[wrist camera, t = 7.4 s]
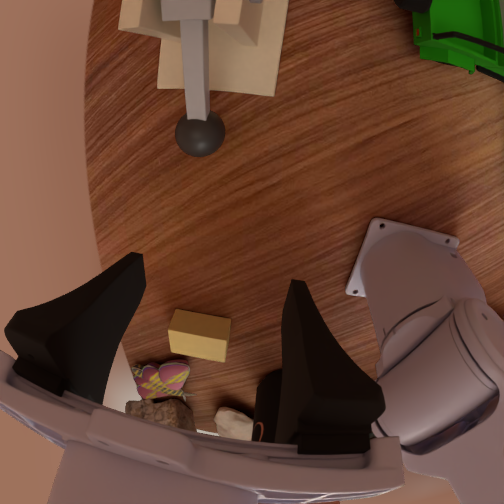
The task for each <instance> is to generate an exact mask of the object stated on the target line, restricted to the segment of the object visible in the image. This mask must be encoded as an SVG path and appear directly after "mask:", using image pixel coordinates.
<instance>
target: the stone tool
mask: <svg viewBox="0 0 504 504" xmlns="http://www.w3.org/2000/svg"><path fill="white" fill-rule="evenodd" d="M253 421H254V420H253V419H251V418H249V417H248V416H246V415H245V414H244V413H242V412H239V411H236V410H235V409H231V408H228V407H220V408H219V409H218V412H217V413H216V415H215V417H214V422H215V423H216V426H217V431H218V435H219V436H220V437H226V438H232V439H239V440H247V441H251V438H252V430H253Z"/></svg>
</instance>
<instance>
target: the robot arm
mask: <svg viewBox="0 0 504 504" xmlns="http://www.w3.org/2000/svg"><path fill="white" fill-rule="evenodd" d="M382 223H384V225H383V226H382V227H380V224H382ZM447 239H448V240H447ZM446 240H447V241H446ZM458 244H459V239H458V238H457V237H456V236H452V235H448V234H444V233H440V232H437V231H433V230H429V229H425V228H421V227H416V226H412V225H408V224H404V223H399V222H395V221H391V220H386V219H382V218H373V219H372V220H371V222H370V225H369V228H368V230H367V233H366V236H365V239H364V241H363V244H362V247H361V249H360V252H359V255H358V257H357V260H356V263H355V265H354V268H353V270H352V273H351V275H350V278H349V280H348V282H347V285H346V287H345V292H346V294H348V295H353V296H361V297H366V298H367V302H368V305H369V309H370V313H371V316H372V320H373V324H374V328H375V332H376V336H377V340H378V345H379V349H380V353H381V357H380V359H379V361H378V362H377V363H376V364H375V366H376V371H377V377H378V378H377V379H376V380H375V381H374V380H373V379H371V378H370V377H369V376H368V375H367V374H366V373H365V372H364V371H362V370H361V369H360V368H359V367H358V366H357V365H356V364H355V363H354V361H353V360H352V359H351V358H350V357H349V356H348V355H347V354H346V352H345V351H344V350H343V349H342V347H341V346H340V345H339V343H338V342H337V341H336V339H335V338H334V336H333V335H332V333H331V332H330V330H329V329H328V327H327V325H326V324H325V322H324V320H323V318H322V317H321V315H320V313H319V311H318V309H317V307H316V305H315V303H314V301H313V299H312V296H311V294H310V292H309V290H308V287H307V285H306V283H305V281H300V280H294V279H292V280H291V283H290V287H289V290H288V294H287V297H286V301H285V304H284V308H283V314H282V326H281V337H282V386H281V396H280V406H279V414H278V422H277V429H276V436H275V442H274V443H265V442H255V441H247V440H239V439H232V438H226V437H220V436H214V435H208V434H203V433H198V432H193V431H189V430H184V429H180V428H176V427H171V426H167V425H164V424H160V423H156V422H152V421H149V420H145V419H142V418H139V417H135V416H132V415H129V414H126V413H123V412H120V411H117V410H114V409H111V408H108V407H106V406H103V405H102V404H103V399H104V394H105V389H106V385H107V381H108V377H109V373H110V370H111V367H112V363H113V360H114V357H115V354H116V351H117V349H118V345H119V343H120V341H121V339H122V336H123V334H124V332H125V331H126V329H127V327H128V325H129V323H130V321H131V319H132V317H133V315H134V313H135V311H136V309H137V308H138V306H139V304H140V301H141V299H142V296H143V294H144V291H145V288H146V279H145V271H144V262H143V254H140V253H135V252H131V253H129V254H128V255H126V256H125V257H123V258H122V259H120V260H119V261H118V262H116V263H115V264H114V265H112V266H111V267H109V268H108V269H106V270H105V271H104V272H102V273H101V274H99V275H98V276H96V277H95V278H93V279H92V280H90V281H89V282H87V283H85V284H84V285H82V286H80V287H78V288H77V289H75V290H73V291H71V292H69V293H67V294H65V295H63V296H60V297H58V298H56V299H54V300H52V301H49V302H46V303H43V304H41V305H38V306H35V307H31V308H27V309H23V310H20V311H17V312H16V313H15V314H14V316H13V317H12V319H11V320H10V321H9V323H8V324H7V326H6V327H5V329H4V332H5V336H6V338H7V340H8V341H9V343H10V344H11V346H12V347H13V349H14V350H15V352H16V353H17V355H18V358H17V360H15V359H14V358H13V357H11V356H10V355H8V354H6V353H5V352H3V351H1V350H0V409H2V410H3V411H4V412H6V413H8V414H9V415H10V416H12V417H13V418H15V419H16V420H17V421H19V422H20V423H22V424H24V425H25V426H27V427H28V428H30V429H31V430H33V431H34V432H36V433H38V434H39V435H41V436H42V437H44V438H46V439H48V440H49V441H51V442H53V443H54V444H56V445H58V446H60V447H62V448H64V449H65V451H64V454H63V457H62V459H61V462H60V465H59V468H58V471H57V474H56V477H55V480H54V483H53V486H52V489H51V493H50V496H49V499H48V503H47V504H257V503H267V504H301V503H320V502H333V501H342V500H352V499H360V498H367V497H374V496H377V495H380V494H383V493H386V492H389V491H392V490H395V489H397V488H400V487H402V486H404V483H405V482H404V471H403V464H404V465H405V467H406V469H407V470H408V471H411V472H414V473H418V474H422V475H427V476H432V477H438V478H441V479H445V480H448V482H449V483H450V485H451V487H452V489H453V491H454V493H455V494H456V496H457V498H458V500H459V502H460V504H504V322H503V321H502V319H501V318H500V317H499V316H498V314H497V313H496V312H495V311H494V310H493V309H492V308H491V307H490V306H489V305H487V304H486V297H485V293H484V290H483V288H482V286H481V285H480V283H479V282H478V280H477V279H476V277H475V276H474V274H473V273H472V271H471V270H470V268H469V267H468V265H467V264H466V262H465V261H464V260H463V258H462V257H461V255H460V254H459V253H458V251H457V250H456V248H457V246H458ZM354 290H357V291H354ZM372 431H373V433H374V435H375V436H376V437H377V438H374V439H371V440H370V438H369V434H370V433H371V432H372Z"/></svg>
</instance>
